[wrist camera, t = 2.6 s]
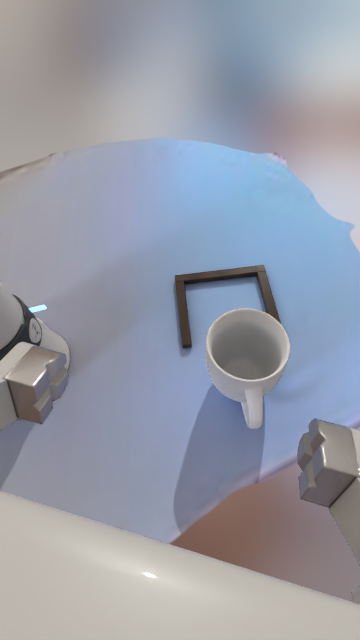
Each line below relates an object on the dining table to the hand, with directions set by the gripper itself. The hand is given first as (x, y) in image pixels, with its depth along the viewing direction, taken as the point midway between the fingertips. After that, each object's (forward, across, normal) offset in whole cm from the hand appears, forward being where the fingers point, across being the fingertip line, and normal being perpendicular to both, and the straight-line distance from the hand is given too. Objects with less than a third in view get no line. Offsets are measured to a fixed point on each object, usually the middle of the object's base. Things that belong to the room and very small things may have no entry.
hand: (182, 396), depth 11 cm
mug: (+32, +7, -31) cm, 45 cm away
